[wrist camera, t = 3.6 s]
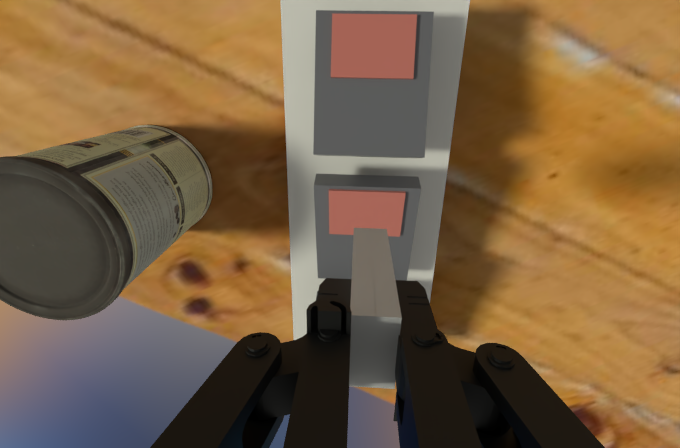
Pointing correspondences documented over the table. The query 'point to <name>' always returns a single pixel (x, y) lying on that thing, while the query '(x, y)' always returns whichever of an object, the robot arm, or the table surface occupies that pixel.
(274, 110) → the table surface
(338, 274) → the rocker
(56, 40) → the table surface
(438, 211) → the power strip
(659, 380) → the table surface
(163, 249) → the coffee can
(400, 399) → the robot arm
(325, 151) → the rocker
